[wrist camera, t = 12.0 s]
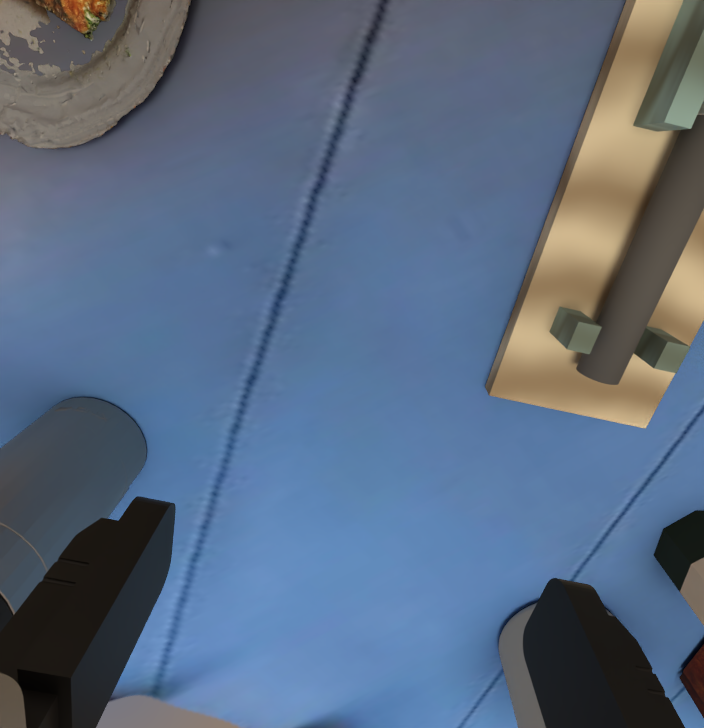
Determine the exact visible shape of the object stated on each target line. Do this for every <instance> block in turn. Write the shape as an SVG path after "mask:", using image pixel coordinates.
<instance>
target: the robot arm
mask: <svg viewBox="0 0 704 728" xmlns="http://www.w3.org/2000/svg"><path fill="white" fill-rule="evenodd" d="M146 454H147V449H146V443H145V439H144V437H143V435H142V432H141V430H140V429H139V428H138V426H137V425H136V423H135V422H134V421H133V420H132V419H131V418H130V417H129V416H128V415H127V414H126V413H124V412H123V411H122V410H120V409H119V408H117V407H116V406H113V405H111V404H109V403H107V402H105V401H101V400H98V399H94V398H85V397H80V398H71V399H68V400H65V401H62V402H60V403H58V404H57V405H55V406H54V407H52V408H51V409H50V410H49V411H47V412H46V413H45V414H43V415H42V416H41V417H40V418H38V419H37V420H36V421H35V422H33V423H32V424H31V425H30V426H28V427H27V428H26V429H24V430H23V431H22V432H20V433H19V434H18V435H17V436H15V437H14V438H13V439H12V440H10V441H9V442H8V443H7V444H5V445H4V446H3V447H2V448H0V728H96V726H97V724H98V722H99V720H100V718H101V716H102V714H103V711H104V709H105V707H106V705H107V703H108V701H109V699H110V697H111V695H112V693H113V691H114V689H115V687H116V685H117V682H118V680H119V678H120V676H121V674H122V672H123V670H124V668H125V666H126V664H127V662H128V660H129V657H130V655H131V653H132V651H133V649H134V647H135V645H136V643H137V641H138V639H139V637H140V634H141V632H142V630H143V628H144V626H145V624H146V622H147V620H148V618H149V616H150V614H151V612H152V609H153V607H154V605H155V603H156V601H157V599H158V597H159V595H160V593H161V591H162V588H163V586H164V583H165V580H166V577H167V574H168V571H169V567H170V562H171V555H172V544H173V533H174V521H175V504H174V503H170V502H165V501H160V500H154V499H149V498H144V497H139V496H138V497H136V498H135V499H134V500H133V501H132V502H131V504H130V505H129V507H128V508H127V509H126V511H125V512H124V514H123V515H122V517H121V518H120V520H119V521H117V520H112V519H108V517H109V516H110V514H111V513H112V512H113V510H114V509H115V508H116V506H117V505H118V503H119V502H120V501H121V499H122V498H123V497H124V495H125V494H126V492H127V491H128V488H129V486H130V485H131V484H132V482H133V481H134V479H135V478H136V477H137V475H138V474H139V472H140V471H141V470H142V468H143V466H144V464H145V461H146ZM523 653H524V658H525V662H526V665H527V668H528V671H529V675H530V678H531V681H532V684H533V688H534V691H535V694H536V697H537V701H538V704H539V707H540V710H541V714H542V717H543V720H544V723H545V727H546V728H685V727H684V725H683V723H682V721H681V720H680V718H679V716H678V714H677V712H676V710H675V709H674V707H673V705H672V703H671V701H670V700H669V698H667V697H665V691H664V689H663V687H662V685H661V683H660V682H659V680H658V678H657V676H656V674H653V673H652V667H651V665H650V663H649V662H648V660H647V658H646V656H645V654H644V653H643V651H642V649H641V647H640V645H639V643H638V642H637V640H636V639H635V638H634V637H633V636H632V635H631V634H630V633H629V632H628V630H627V629H626V628H625V627H624V626H623V625H622V624H621V623H620V621H619V620H618V619H617V618H616V617H615V616H610V615H608V613H607V611H606V609H605V607H604V605H603V603H602V601H601V600H600V598H599V596H598V594H597V592H596V590H595V589H594V588H593V587H592V586H590V585H588V584H583V583H578V582H572V581H567V580H562V579H557V578H553V579H551V580H550V581H549V582H548V583H547V585H546V587H545V589H544V591H543V593H542V595H541V597H540V598H539V600H538V602H537V604H536V606H535V608H534V610H533V612H532V614H531V616H530V618H529V620H528V622H527V624H526V626H525V629H524V633H523Z"/></svg>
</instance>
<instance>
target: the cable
mask: <svg viewBox="0 0 704 728" xmlns="http://www.w3.org/2000/svg"><path fill="white" fill-rule="evenodd" d="M703 209H704V101H703V103H702V105H701V108H700V110H699V112H698V114H697V117H696V119H695V121H694V123H693V125H692V128H691V129H683V130H681V131H680V133H679V135H678V137H677V140H676V142H675V144H674V147H673V149H672V151H671V153H670V156H669V158H668V160H667V162H666V165H665V167H664V169H663V172H662V174H661V176H660V178H659V181H658V183H657V185H656V187H655V190H654V192H653V194H652V196H651V199H650V201H649V203H648V206H647V208H646V210H645V212H644V215H643V217H642V219H641V221H640V224H639V226H638V228H637V231H636V233H635V235H634V237H633V240H632V242H631V244H630V246H629V249H628V251H627V253H626V256H625V258H624V260H623V262H622V265H621V267H620V269H619V271H618V274H617V276H616V278H615V281H614V283H613V285H612V287H611V290H610V292H609V294H608V296H607V299H606V301H605V303H604V305H603V308H602V310H601V312H600V315H599V317H598V319H597V321H596V323H597V324H599V325H600V326H601V327H602V328H601V330H600V332H599V335H598V337H597V339H596V341H595V343H594V346H593V348H592V350H591V352H590V354H585V353H582V355H581V358H580V360H579V362H578V365H577V367H576V369H577V371H578V372H579V373H581V374H582V375H584V376H586V377H588V378H590V379H592V380H595V381H597V382H600V383H604V384H609V385H618V384H619V382H620V380H621V378H622V376H623V374H624V372H625V370H626V368H627V366H628V363H629V361H630V359H631V357H632V355H633V353H634V351H635V349H636V347H637V345H638V343H639V341H640V339H641V337H642V335H643V333H644V331H645V329H646V326H647V324H648V322H649V320H650V318H651V316H652V314H653V312H654V310H655V308H656V306H657V304H658V302H659V300H660V298H661V296H662V294H663V292H664V289H665V287H666V285H667V283H668V281H669V279H670V277H671V275H672V273H673V271H674V269H675V267H676V265H677V263H678V261H679V259H680V257H681V255H682V252H683V250H684V248H685V246H686V244H687V242H688V240H689V238H690V236H691V234H692V232H693V230H694V228H695V226H696V224H697V222H698V220H699V218H700V215H701V213H702V211H703Z"/></svg>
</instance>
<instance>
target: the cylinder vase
mask: <svg viewBox="0 0 704 728" xmlns="http://www.w3.org/2000/svg"><path fill="white" fill-rule="evenodd" d="M536 604H537V603H535V604H533V605H530V606H528V607H526V608H525V609H523V610H521V611H520V612H518V613H517V614H516V615H514V616H513V617H512V618H511V619H510V620H509V621H508V623H507V624H506V625H505V627H504V629H503V630H502V633H501V635H500V639H499V655H500V659H501V663H502V667H503V671H504V674H505V678H506V682H507V686H508V690H509V694H510V698H511V701H512V705H513V709H514V713H515V717H516V721H517V725H518V728H546V727H545V723H544V720H543V717H542V714H541V710H540V707H539V704H538V701H537V697H536V694H535V691H534V688H533V684H532V681H531V678H530V675H529V671H528V668H527V665H526V662H525V658H524V653H523V633H524V629H525V626H526V624H527V622H528V620H529V618H530V616H531V614H532V612H533V610H534V608H535V606H536ZM606 611H607V610H606ZM607 613H608V615H610V616H613V615H612V614H611V613H610V612H609V611H607Z"/></svg>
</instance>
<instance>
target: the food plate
mask: <svg viewBox="0 0 704 728" xmlns="http://www.w3.org/2000/svg"><path fill="white" fill-rule="evenodd" d="M190 3H191V0H128V2H127V5H126V8H125V11H126V13H125V16H124V20H123V22H122V24H121V25H120V27H119V28H118V29H117V31H116V33H115V35H114V37H113V38H112V41H110V40H108V41H107V42H106V43H105V47H104V49H103V52H100V51H95V54H93V53H92V58H91V61H90V62H89V63H87V64H84V65H79V64H78V65H77V66H75V65H74V64H72V63H73V62H74V61H73V62H72V61H71V65H70V69H71V70H72V71H71V70H70V71H63V72H61V70H60V68H59V67H58V66H54V65H52V67H50V65H48V64H46V65H45V66H44V65H39V66H38V69H39V71H40V72H42V73H44V74H43V76H38V75H37V74H33V73H35V70H34V68H33V67H32V66H33V63H32V62H30V63H29V65H31V67H32V72H33V73H32V72H31V71H21V70H19V69H18V67H19V66H20V65H22V64H23V63H22V64H19V63H18V62H19V60H17V59H16V58H9V61H10V62H11V63H14V66H10V65H8V64H7V61H6V60H3V59H2V58H0V65H2V64H4V65H5V66H6V67H7V68H8V69H14V70H15V73H14V74H9V73H8V72H6V71H3V70H1V69H0V134H2V135H3V134H5V133H7V134H8V135H9V136H10V137H11V139H13V140H14V139H18V142H19V141H20V143H21V142H23V143H22V144H24V143H25V144H24V145H26V146H29V147H33V148H48V149H55V148H60V147H61V148H65V147H71V146H77V145H80V144H84V143H86V142H88V141H90V140H92V139H94V138H97V137H100V136H101V135H103V134H104V131H107V130H110V129H111V128H112V127H113V126H114V125H115V126H116V124H117V121H119V119H120V118H121V117H122V116H123V115H124V116H125V115H127V113H129V111H130V110H132V108H136V105H137V106H138V104H139V105H140V103H141V102H144V99H145V98H146V97H147V96H148V95H149V93H150V91H151V92H152V90H153V89H154V88H155V85H156V83H157V81H158V80H159V79H160V77H161V76H162V75H163V72H164V70H165V69H166V67H167V66H168V65H167V64H169V63H170V62H171V61H170V60H172V59H171V57H172V58H173V56H174V55H173V54H174V53H175V49H176V47H177V45H178V42H179V38H180V35H181V33H182V29H183V27H184V25H185V22H186V19H187V15H188V13H187V12H188V7H189V5H190ZM115 6H116V2H115V0H0V39H1V40H2V42H3V43H4V44H6V45H10V37H9V35H8V34H9V31H10V33H12V35H14V36H19V37H21V38H24V39H26V40H27V42H28V44H29V48H31V49H33V50H34V51H39V52H40V54H41V53H43V50H42V49H41V48H39V47H38V41H37V38H36V37H32V36H30V31H31V30H35V29H36V28H37V27H39V28H41V27H40V25H39V24H38V22H39V21H41V22H43V23H45V24H48V23H49V22H50V19H49V17H48V15H47V11H46V10H48V11H50V12H52V13H54V14H55V15H56V16H57V17H59V18H60V19H61V20H62V21H65V22H66V23H67V24H69V25H70V26H71V27H72V28H74V29H76V30H77V31H79V32H81V33H82V34H83V35H84V37H85V38H89V39H90V40H91V41H92V40H93V35H92V32H93V31H94V30H96V29H97V26H98V24H99V23H100V22H101V21H109V20H110V16H111V14H112V12H113V9H114V7H115ZM186 13H187V14H186ZM20 18H21V19H20ZM57 28H58V29H59V28H60V27H59V26H57ZM55 29H56V28H55ZM1 30H3V31H4V33H3V34H2V33H1ZM52 33H54V32H52ZM58 33H59V32H58ZM31 40H32V41H33V42H34V43H33V44H32V45H31V44H30V43H31ZM44 41H45V40H43V42H44ZM40 43H42V41H41V42H40ZM54 43H55V40H54ZM0 50H1V51H5V52H4V54H3V55H4V56H5V55H6V57H9V54H8V53H7V52H6V50H5V48H4V47H3V48H0ZM82 52H83V54H85V51H84V50H83V51H82ZM24 64H25V63H24ZM16 66H17V67H16ZM4 136H5V135H4ZM15 141H16V140H15Z"/></svg>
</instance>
